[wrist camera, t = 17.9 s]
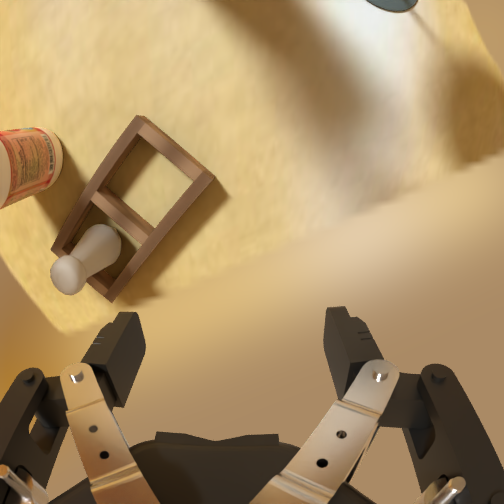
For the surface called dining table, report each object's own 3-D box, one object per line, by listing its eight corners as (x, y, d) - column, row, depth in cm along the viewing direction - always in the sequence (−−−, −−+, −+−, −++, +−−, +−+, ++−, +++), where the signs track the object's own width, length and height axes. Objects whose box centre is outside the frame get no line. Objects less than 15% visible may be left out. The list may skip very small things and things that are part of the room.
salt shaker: (131, 255, 42) (93, 302, 30) (98, 261, 42) (54, 307, 30) (119, 215, 40) (73, 251, 28) (85, 223, 40) (35, 260, 28)
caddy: (60, 242, 41) (50, 249, 38) (144, 115, 35) (136, 115, 32) (119, 293, 44) (112, 303, 42) (215, 176, 38) (212, 180, 35)
